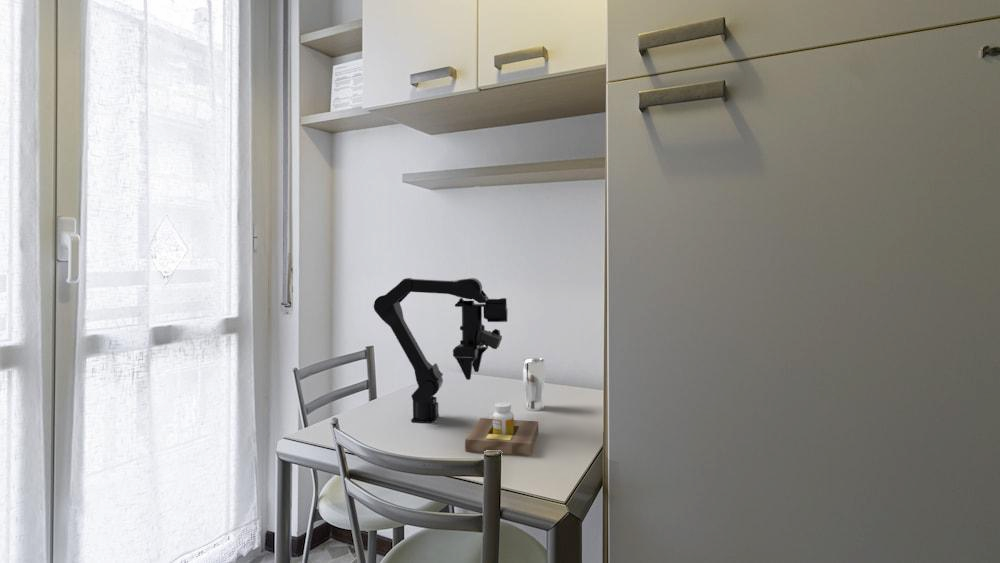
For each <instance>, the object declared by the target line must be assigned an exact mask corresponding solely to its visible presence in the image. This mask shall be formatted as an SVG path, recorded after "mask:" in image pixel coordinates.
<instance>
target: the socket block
mask: <svg viewBox="0 0 1000 563" xmlns="http://www.w3.org/2000/svg"><path fill="white" fill-rule="evenodd" d="M539 422H540V421H539V420H525V419H524V420H523V419H522V420H521V419H520V420H519V419H514V436H513V435H498V434H493V418H487V417H486V418H485V417H480V419H478V421H477V423H476V424H475V425H474V427H472V429H471V431H470V432H469V433H468V435H467V436H466V438H465V441H464V448H465V449H464V450H465V452H468V451H471V452H470V453H481V454H483V452H484V451H486V450H501V451H502V452H503V454H502V455H513V456H525V457H530V456H531V455H532V453H533V452H532V451H533V449H534V446H535V443H536V442H537V438H538V435H539V429H540V427H539V425H540V424H539Z"/></svg>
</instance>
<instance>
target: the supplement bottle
mask: <svg viewBox="0 0 1000 563" xmlns="http://www.w3.org/2000/svg"><path fill="white" fill-rule="evenodd" d="M511 408H512V404H511V403H510V402H508V401H501V402H500V401H499V402H496V403H495V405H494V409H495V411H494V412H493V414H492V419H493V434H498V435H513V436H514V420H515V419H514V418H515V417H514V413H513V412H512V411H511Z"/></svg>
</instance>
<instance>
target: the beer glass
mask: <svg viewBox="0 0 1000 563" xmlns="http://www.w3.org/2000/svg"><path fill="white" fill-rule="evenodd" d="M522 362H523V365H522V380H523V381H522V382H523V387H524V392H525V393H524V394H525V403H524V409H525V410H527V411H530V412H531V411H532V412H533V411H535V412H537V411H542V410H544V408H545V406H544V400H543V399H544V397H543V396H544V395H543V393H544V389H545V382H546V365H545V364H546V363H545V359H543V358H537V357H530V358H524V359H523V361H522Z"/></svg>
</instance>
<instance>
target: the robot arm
mask: <svg viewBox="0 0 1000 563" xmlns="http://www.w3.org/2000/svg"><path fill="white" fill-rule="evenodd" d="M410 293H426V294H443V295H451V296H455V297H458V298H459V300H458V301H457V302H456V303H454V307H455V308H460V307H461V325H460V326H459V330H460V331H461V336H462V337H461V340H460V343H459V344H458V345H456V346H455V347H454V348H453V350H452V356H453V357H454V359H455V360H456V361H457V363H458V364H459V367H460V369H461V372H462V373H463V375H464V377H465V379H466V380H467V381H468V380H469V381H470V380H471V378H472V371H474V373H478V372H480V371H479V370H480V367H481V363H482V358H483V355H484V353H485V352H486V351H487V350H488V349H489V347H490V348H491V349H493V350H497V349H498V348H499V347H500V344H501V342H502V339H503V335H501V331H500V329H497V328H495V329H493V330H492V331H490V330H486V329H485V325H484V324H483V320H482V319H485V320H487V322H488V323H507V322H508V319H509V318H508V314H509V312H508V304H507V302H508V301H507V298H506V297H501V298H489V296H488V295H487V294H486V293H485V291H484V290H483V284H482V282H481V281H480V280H479V279H477V278H475V277H469V278H462V279H456V280H454V279H453V280H442V279H440V280H439V279H438V280H436V279H422V278H420V279H419V278H412V277H406V278H403V279H401V280H400V282H399V283H397V285H396V286H394V287H392V289H391V290H389V291H388V292H387V293H385V294H383V295H380V296H378V297H377V298H376V299H375V301H374V303H373V309H374V312H375V313H376V314H377V315H378V316H379V318H380V319H381V320H382V321H383V322H384V323H385V324H387V325H388V326H389V327H390V329H391V331H392V332H393V335H394V336H395V337H396V339H397V341H398V343H399V345H400V346H401V348H402V350H403V352H404V354H405V355H406V358H407V359H408V361H409V363H410V365H411V366H412V368H413V370H414V377H415V380H416V383H417V386H418V387H417V388H416V389H415V390H414V391H413V393H412V394H411V399H412V418H411V419H410V422H412V423H428V424H429V423H431V424H432V423H434V422H435V421H436V420H437V418H439V415H440V414H439V402H437V401H438V400H437V396H435V395H436V394H437V393H438V391H439V390H440V388H442V386H443V382H444V380H443V379H444V378H443V377H442V376H443V375H444V373H442V372H441V371H440V369H439V366H438V364H437V363H434V364H432V363H430V362H429V361H428V360H427V358H426V357H425V355H424V353H423V351H422V349H421V348H420V346H419V344H418V341H417V340H416V339H415V337H414V335H413V333H412V331H411V329H410V328H409V326H408V324H407V323H406V320H405V317H404V314H403V312H404V311H403V308H402V306H401V303H402V301H403V300H404V299H405V298H406V297H408V295H409V294H410ZM464 299H466V300H464ZM475 302H476V303H475ZM482 308H483V310H482ZM482 311H483V314H482ZM482 315H483V316H482Z"/></svg>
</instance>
